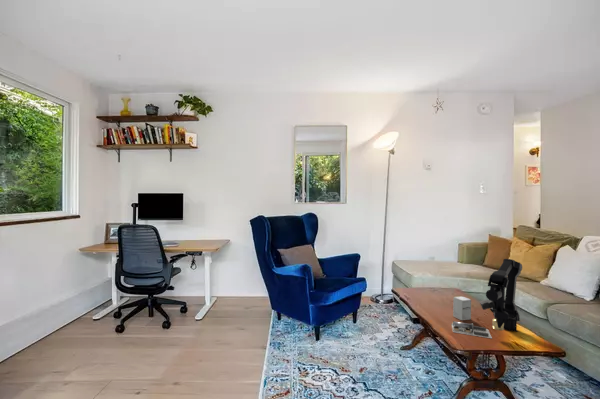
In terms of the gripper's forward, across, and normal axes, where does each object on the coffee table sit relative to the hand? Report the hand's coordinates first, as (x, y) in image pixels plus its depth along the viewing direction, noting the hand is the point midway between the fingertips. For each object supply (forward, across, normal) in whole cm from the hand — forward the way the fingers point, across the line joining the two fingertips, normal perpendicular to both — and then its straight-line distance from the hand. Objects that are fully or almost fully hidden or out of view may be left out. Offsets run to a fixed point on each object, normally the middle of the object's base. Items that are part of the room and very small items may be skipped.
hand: (498, 325), depth 164 cm
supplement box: (+7, -25, -15) cm, 30 cm away
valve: (+1, 0, 0) cm, 1 cm away
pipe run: (+7, -5, -12) cm, 15 cm away
